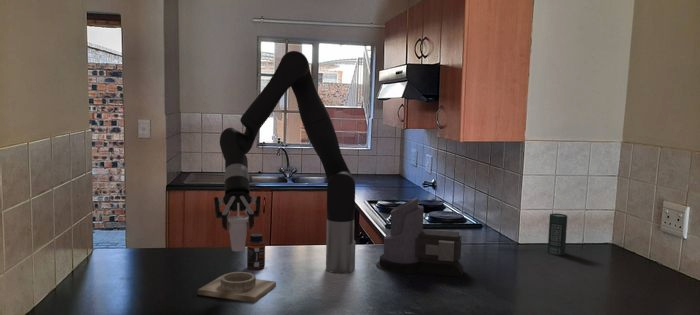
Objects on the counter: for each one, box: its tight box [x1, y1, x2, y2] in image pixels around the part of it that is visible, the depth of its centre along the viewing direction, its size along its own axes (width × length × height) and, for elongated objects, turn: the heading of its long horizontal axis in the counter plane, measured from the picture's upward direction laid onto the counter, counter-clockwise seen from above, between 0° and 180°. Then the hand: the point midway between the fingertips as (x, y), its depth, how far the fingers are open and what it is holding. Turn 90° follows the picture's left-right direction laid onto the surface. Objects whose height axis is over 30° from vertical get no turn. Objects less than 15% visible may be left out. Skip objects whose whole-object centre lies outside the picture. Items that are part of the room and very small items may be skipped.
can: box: [547, 213, 568, 256], centre depth 206 cm, size 6×6×15 cm
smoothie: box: [227, 203, 249, 252], centre depth 155 cm, size 6×6×14 cm
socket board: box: [197, 271, 277, 303], centre depth 156 cm, size 18×14×4 cm
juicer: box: [375, 197, 464, 278], centre depth 182 cm, size 30×16×24 cm, turn 77°
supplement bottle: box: [246, 233, 266, 271], centre depth 178 cm, size 6×6×11 cm
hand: (238, 228), depth 154 cm, fingers closed on smoothie, 6 cm apart
